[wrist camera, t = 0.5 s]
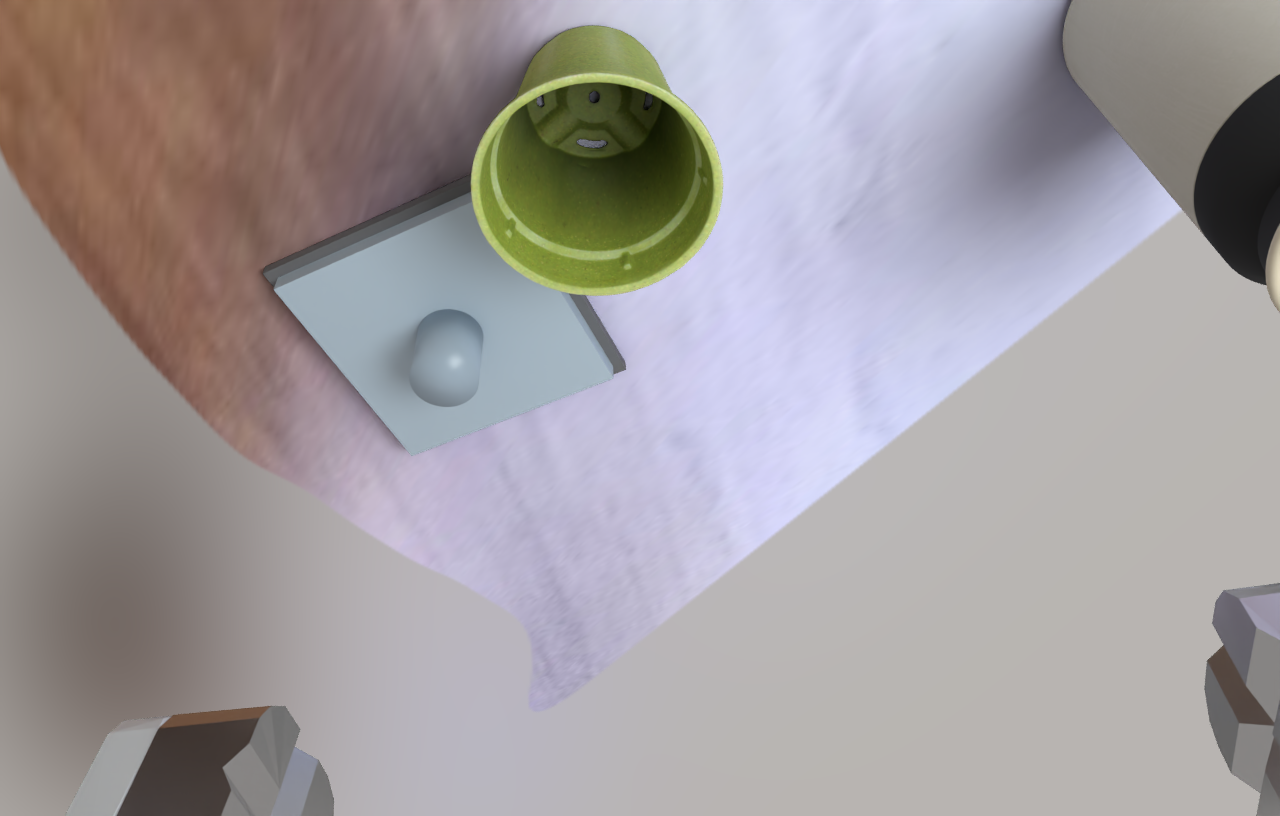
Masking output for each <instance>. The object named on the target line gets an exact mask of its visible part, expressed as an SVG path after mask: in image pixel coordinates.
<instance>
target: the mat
mask: <svg viewBox="0 0 1280 816" xmlns="http://www.w3.org/2000/svg"><path fill="white" fill-rule="evenodd" d="M469 192H471V174H470V175H468V176H466V177H464V178H462V179H459V180H457V181H455V182H453V183H450V184H448V185H446V186H444V187H442V188H439V189H437V190H435V191H433V192H430V193H428V194H426V195H424V196H422V197H419V198H417V199H415V200H413V201H410V202H408V203H406V204H404V205H402V206H399V207H397V208H395V209H393V210H390V211H388V212H386V213H384V214H382V215H379V216H377V217H375V218H373V219H370V220H368V221H366V222H364V223H362V224H359V225H357V226H355V227H353V228H350V229H348V230H346V231H344V232H341V233H339V234H337V235H335V236H333V237H330V238H328V239H326V240H324V241H321V242H319V243H317V244H315V245H313V246H310V247H308V248H306V249H304V250H301V251H299V252H297V253H295V254H293V255H290V256H288V257H286V258H284V259H281V260H279V261H277V262H275V263H273V264H270V265H268V266H266V267H265V269H264V272H263V275H264V276H265V277H266V278H267V280H268V281H269V282H270V283H271V284H272V286H273V287H275V284H276V281H277V279H278V277H281V276H283V275H285V274H287V273H290V272H292V271H294V270H296V269H299V268H301V267H303V266H305V265H308V264H310V263H312V262H314V261H317V260H319V259H321V258H323V257H326V256H328V255H330V254H332V253H334V252H337V251H339V250H341V249H343V248H346V247H348V246H350V245H352V244H355V243H357V242H359V241H361V240H364V239H366V238H368V237H370V236H373V235H375V234H377V233H379V232H382V231H384V230H386V229H388V228H391V227H393V226H395V225H397V224H400V223H402V222H404V221H406V220H409V219H411V218H413V217H415V216H418V215H420V214H422V213H424V212H427V211H429V210H431V209H433V208H436V207H438V206H440V205H442V204H445V203H447V202H449V201H451V200H453V199H456V198H458V197H460V196H462V195H465V194H467V193H469ZM569 295H570V296H571V298H572V300H573V301H574V303H575V305H576V306H577V308H578V310H579V311H580V313H581V314H582V316H583V318H584V319H585V321H586V323H587V324H588V326H589V328H590V329H591V331H592V333H593V334H594V336H595V337H596V339H597V341H598V342H599V344H600V346H601V347H602V349H603V351H604V352H605V354H606V356H607V357H608V359H609V360H610V362H611V364H612V365H613V374H616V373H618V372H621V371H624V370H626V364H625V361H624V359H623V358H622V356H621V354H620V353H619V351H618V349H617V348H616V346H615V344H614V343H613V341H612V339H611V338H610V336H609V334H608V333H607V331H606V329H605V327H604V326H603V324H602V322H601V321H600V319H599V317H598V316H597V314H596V312H595V311H594V309H593V307H592V306H591V304H590V302H589V301H588V299H587V297H586V296H585V295H576V294H570V293H569Z"/></svg>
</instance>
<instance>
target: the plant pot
mask: <svg viewBox="0 0 1280 816" xmlns="http://www.w3.org/2000/svg"><path fill="white" fill-rule="evenodd" d="M593 91H597V92H598V93H599V95H600V99H599V101H598V102H597V103H592V102H591V101H590V100H589V94H590V93H591V92H593ZM646 92H648V93H650V94H652V95H653V102H652V106H651V107H650V108H649V109H648V110H644V108H643V107H644V102H645V97H646ZM542 94H543V98H544V99H543V101H544V106H543V107H541V106H539V105H537V97H539V96H541V95H542ZM579 139H586V140H591V141H599V140H605V141H607V142H608V144H607V145H606V146H604V147H602V148H586V147H583V146H581V145H579V144H578V143H577V140H579ZM722 193H723V175H722V168H721V163H720V159H719V156H718V153H717V150H716V147H715V145H714V142H713V140H712V138H711V136H710V134H709V132H708V130H707V129H706V127H705V126H704V124H703V123H702V121H701V120H700V119H699V117H698V116H697V115H696V114H695V113H694V111H693V110H692V109H691V108H690V107H689V106H688V105H687V104H686V103H684V102H683V101H682V100H681V99H680V98H678V97H677V96H676V95H674V94H673V93H672V92H671V90H670V88H669V86H668V84H667V82H666V80H665V78H664V76H663V74H662V72H661V70H660V68H659V65H658V63H657V62H656V60H655V59H654V57H653V56H652V55H651V53H650V52H649V51H648V50H647V49H646V48H645V47H644V46H643V45H642V44H641V43H639V42H638V41H637V40H636V39H635V38H633V37H632V36H630V35H628V34H626V33H624V32H622V31H620V30H617V29H613V28H609V27H604V26H582V27H577V28H573V29H570V30H567V31H565V32H563V33H561V34H559V35H558V36H556V37H555V38H554V39H552V40H551V41H550V42H548V43H547V44H546V45H545V46H544V47H543V48H542V49H541V50H540V51H539V52H538V53H537V54H536V55H535V56H534V58H533V59H532V61H531V63H530V65H529V67H528V70H527V72H526V74H525V76H524V79H523V81H522V84H521V86H520V89H519V91H518V94H517V96H516V98H515V99H513V100H512V101H511V102H510V103H509V104H508V105H507V106H505V107H504V108H503V109H502V110H501V111H500V112H499V113H498V114H497V116H496V117H495V118H494V119H493V121H492V122H491V123H490V125H489V126H488V128H487V129H486V131H485V133H484V135H483V136H482V138H481V141H480V143H479V145H478V148H477V151H476V154H475V157H474V161H473V165H472V172H471V198H472V204H473V208H474V212H475V215H476V218H477V221H478V224H479V226H480V228H481V230H482V232H483V234H484V236H485V238H486V240H487V241H488V243H489V244H490V245H491V246H492V247H493V249H494V250H495V251H496V252H497V254H498V255H499V256H500V257H501V258H502V259H503V260H504V261H505V262H506V263H507V264H508V265H509V266H511V267H512V268H513V269H514V270H516V271H517V272H519V273H520V274H522V275H523V276H525V277H527V278H528V279H530V280H532V281H533V282H536V283H538V284H540V285H543V286H545V287H548V288H551V289H554V290H557V291H561V292H565V293H570V294H576V295H590V296H602V295H615V294H622V293H627V292H631V291H635V290H637V289H640V288H643V287H646V286H649V285H651V284H653V283H656V282H658V281H660V280H662V279H664V278H665V277H667V276H669V275H670V274H672V273H673V272H675V271H677V270H678V269H680V268H681V267H683V266H684V265H685V264H686V263H687V262H688V261H689V260H690V259H691V258H692V257H693V256H694V255H695V254H696V253H697V252H698V251H699V250H700V248H701V247H702V246H703V244H704V243H705V241H706V240H707V238H708V237H709V235H710V233H711V231H712V229H713V227H714V225H715V223H716V221H717V217H718V215H719V211H720V206H721V201H722Z"/></svg>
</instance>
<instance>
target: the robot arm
mask: <svg viewBox="0 0 1280 816" xmlns="http://www.w3.org/2000/svg"><path fill="white" fill-rule="evenodd" d="M1212 624H1213V626H1214V628H1215V629H1216V631H1217V633H1218V635H1219V637H1220V639H1221V641H1222V643H1223V644H1224V645H1223V646H1222V647H1221V648H1220V649H1219V650H1218V651H1217V652H1216V653H1215V654H1214V655H1213V656H1211V658H1209V659H1208V660H1207V667H1206V678H1205V695H1206V701H1207V707H1208V714H1209V720H1210V723H1211V726H1212V729H1213V732H1214V735H1215V738H1216V741H1217V744H1218V747H1219V748H1220V751H1221V753H1222V755H1223V757H1224V759H1225V761H1226V763H1227V765H1228V767H1229V770H1230V771H1231V773H1232V774H1233V775H1235V776H1236V777H1238V778H1239V779H1240V780H1242V781H1243V782H1245V783H1246V784H1248V785H1249V786H1251V787H1252V788H1254V789H1255V790H1256V791H1258V792H1259V793H1261V794H1260V799H1259V805H1258V810H1257V815H1256V816H1280V583H1277V584H1269V585H1262V586H1254V587H1246V588H1239V589H1232V590H1224V591H1223V592H1222V593H1221V595H1220V596H1219V598H1218V599H1217V601H1216V603H1215V609H1214V616H1213V622H1212ZM299 732H300V728H299V726H298V725H297V724H296V722H295V720H294V719H293V717H292V716H291V714H290V713H289V711H288V710H287V708H286V707H285V706H265V707H254V708H243V709H233V710H221V711H211V712H200V713H189V714H178V715H173V716H163V717H154V718H143V719H134V720H124V721H123V722H122V723H120V724H119V725H118V726H117V727H116V728H114V729H113V730H112V731H111V732H109V733H108V735H107V736H106V738H105V740H104V742H103V744H102V746H101V748H100V750H99V752H98V753H97V755H96V757H95V759H94V761H93V763H92V765H91V767H90V769H89V771H88V772H87V774H86V776H85V778H84V780H83V782H82V784H81V786H80V788H79V790H78V791H77V793H76V795H75V797H74V799H73V801H72V803H71V805H70V807H69V808H68V810H67V812H66V814H65V816H333V814H334V798H333V794H332V790H331V787H330V783H329V779H328V776H327V774H326V772H325V771H324V769H323V767H322V765H321V763H320V762H319V760H318V759H316V758H314V757H313V756H311V755H309V754H307V753H305V752H303V751H302V750H300V749H298V748H296V747H295V744H296V741H297V738H298V735H299Z"/></svg>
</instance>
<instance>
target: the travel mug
mask: <svg viewBox="0 0 1280 816" xmlns="http://www.w3.org/2000/svg"><path fill="white" fill-rule="evenodd" d="M1063 53H1064V58H1065V62H1066V65H1067V68H1068V70H1069V72H1070V74H1071V76H1072V78H1073V79H1074V81H1075V82H1076V83H1077V84H1078V86H1079V87H1080V88H1081V89H1082V90H1083V92H1084V93H1085V94H1086V95H1087V96H1088V98H1089V99H1090V100H1091V101H1092V102H1093V104H1094V105H1095V106H1096V107H1097V108H1098V110H1099V111H1100V112H1101V113H1102V114H1103V116H1104V117H1105V118H1106V119H1107V120H1108V121H1109V123H1110V124H1111V125H1112V126H1113V127H1114V129H1115V130H1116V131H1117V132H1118V133H1119V135H1120V136H1121V137H1122V138H1123V139H1124V141H1125V142H1126V143H1127V144H1128V145H1129V147H1130V148H1131V149H1132V150H1133V151H1134V152H1135V154H1136V155H1137V156H1138V157H1139V158H1140V160H1141V161H1142V162H1143V163H1144V164H1145V166H1146V167H1147V168H1148V169H1149V170H1150V172H1151V173H1152V174H1153V175H1154V176H1155V178H1156V179H1157V180H1158V181H1159V182H1160V184H1161V185H1162V186H1163V187H1164V188H1165V189H1166V191H1167V192H1168V193H1169V194H1170V195H1171V197H1172V198H1173V199H1174V200H1175V201H1176V203H1177V204H1178V205H1179V206H1180V207H1181V209H1182V210H1183V211H1184V212H1185V213H1186V214H1187V216H1188V217H1189V218H1190V219H1191V221H1192V222H1193V223H1194V224H1195V225H1196V226H1197V228H1198V229H1199V230H1200V231H1201V232H1202V234H1203V235H1204V236H1205V237H1206V238H1207V240H1208V241H1209V242H1210V243H1211V244H1212V246H1213V247H1214V248H1215V249H1216V250H1217V252H1218V253H1219V254H1220V255H1221V256H1222V257H1223V259H1224V260H1225V261H1226V262H1227V263H1228V264H1229V266H1230V267H1231V268H1232V269H1234V270H1235V271H1236V272H1237V273H1239V274H1240V275H1242V276H1243V277H1245V278H1247V279H1249V280H1251V281H1254V282H1257V283H1260V284H1263V285H1267V289H1268V292H1269V295H1270V298H1271V300H1272V302H1273V304H1274V306H1275V307H1276V308H1277V310H1278V311H1279V312H1280V0H1072V2H1071V4H1070V7H1069V9H1068V12H1067V16H1066V19H1065V24H1064V30H1063Z"/></svg>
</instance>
